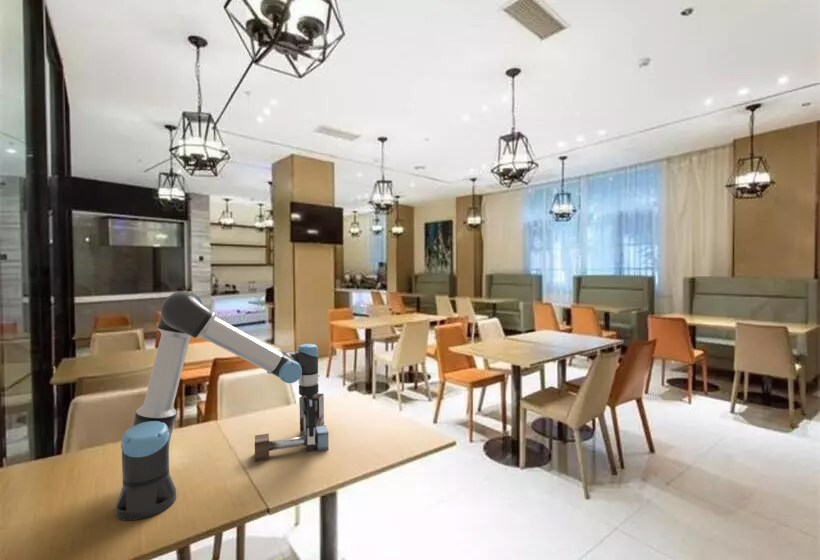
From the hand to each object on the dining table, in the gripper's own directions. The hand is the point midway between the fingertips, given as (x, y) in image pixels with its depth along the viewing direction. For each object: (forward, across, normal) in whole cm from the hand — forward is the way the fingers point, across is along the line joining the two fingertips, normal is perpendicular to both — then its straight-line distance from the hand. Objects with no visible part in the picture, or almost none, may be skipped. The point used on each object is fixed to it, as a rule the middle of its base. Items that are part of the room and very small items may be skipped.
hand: (309, 436), depth 153 cm
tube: (+4, 0, +5) cm, 7 cm away
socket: (+5, 0, -5) cm, 7 cm away
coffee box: (+5, +16, -3) cm, 17 cm away
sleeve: (+5, 0, +18) cm, 18 cm away
